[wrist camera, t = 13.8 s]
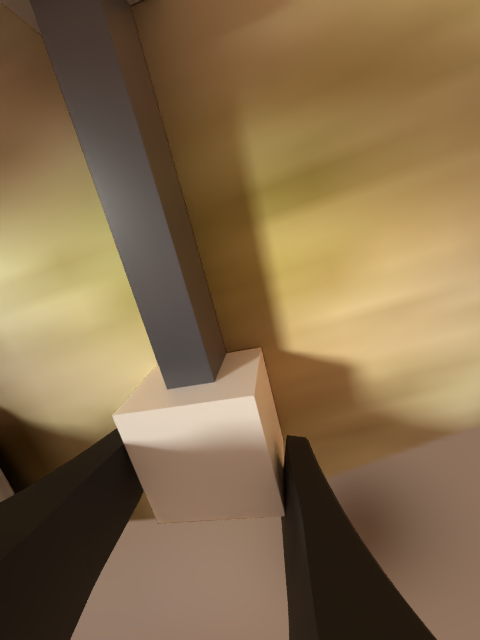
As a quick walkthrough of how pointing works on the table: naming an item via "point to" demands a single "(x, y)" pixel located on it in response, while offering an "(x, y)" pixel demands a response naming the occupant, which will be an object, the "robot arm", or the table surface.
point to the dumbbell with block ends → (163, 283)
